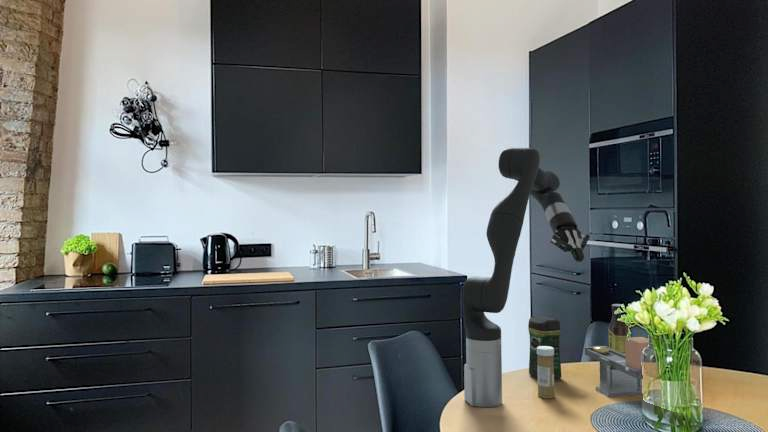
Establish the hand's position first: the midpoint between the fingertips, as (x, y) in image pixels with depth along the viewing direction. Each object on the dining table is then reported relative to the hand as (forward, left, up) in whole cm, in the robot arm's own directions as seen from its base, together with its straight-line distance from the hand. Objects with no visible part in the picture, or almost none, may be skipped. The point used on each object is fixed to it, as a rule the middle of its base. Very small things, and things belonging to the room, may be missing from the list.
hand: (580, 260), depth 170 cm
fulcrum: (+4, -14, -36) cm, 39 cm away
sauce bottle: (+20, +12, -36) cm, 43 cm away
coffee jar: (-10, +4, -36) cm, 38 cm away
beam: (+4, -14, -28) cm, 31 cm away
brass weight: (+4, -4, -27) cm, 28 cm away
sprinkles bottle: (-18, -13, -36) cm, 42 cm away
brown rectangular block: (+4, -23, -27) cm, 36 cm away
